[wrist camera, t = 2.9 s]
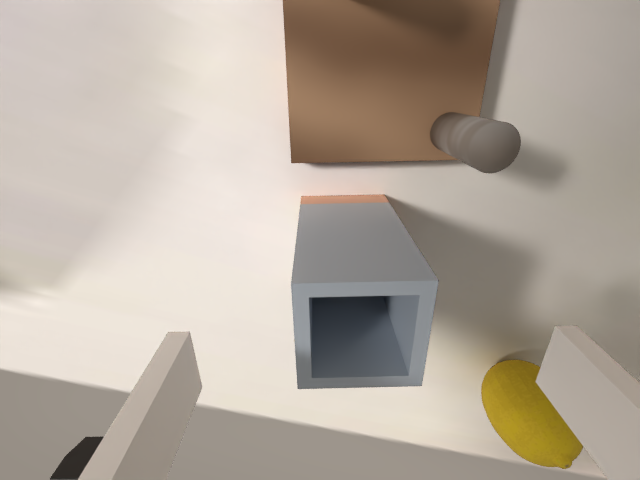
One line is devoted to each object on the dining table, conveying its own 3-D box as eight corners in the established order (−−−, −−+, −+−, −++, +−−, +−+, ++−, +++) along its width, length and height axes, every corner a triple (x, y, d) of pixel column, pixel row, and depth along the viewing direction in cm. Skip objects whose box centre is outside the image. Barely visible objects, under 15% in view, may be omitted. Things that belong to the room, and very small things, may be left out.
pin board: (278, -119, 14) (255, -258, 9) (506, -122, 15) (636, -262, 9) (293, 157, 20) (283, 189, 14) (460, 154, 20) (523, 184, 14)
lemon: (508, 394, 29) (574, 499, 21) (452, 378, 28) (501, 483, 20) (548, 348, 26) (636, 448, 19) (489, 329, 25) (558, 427, 18)
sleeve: (301, 196, 21) (291, 283, 12) (384, 194, 21) (438, 280, 12) (304, 268, 23) (297, 388, 14) (379, 266, 23) (421, 385, 14)
